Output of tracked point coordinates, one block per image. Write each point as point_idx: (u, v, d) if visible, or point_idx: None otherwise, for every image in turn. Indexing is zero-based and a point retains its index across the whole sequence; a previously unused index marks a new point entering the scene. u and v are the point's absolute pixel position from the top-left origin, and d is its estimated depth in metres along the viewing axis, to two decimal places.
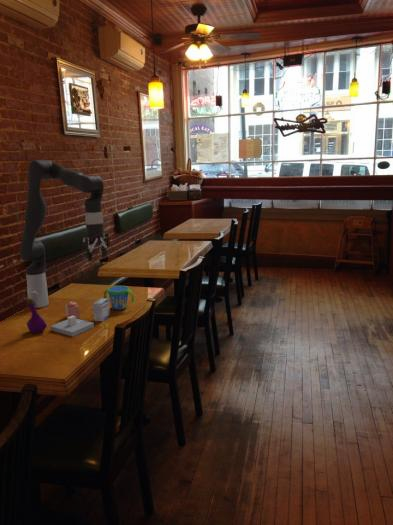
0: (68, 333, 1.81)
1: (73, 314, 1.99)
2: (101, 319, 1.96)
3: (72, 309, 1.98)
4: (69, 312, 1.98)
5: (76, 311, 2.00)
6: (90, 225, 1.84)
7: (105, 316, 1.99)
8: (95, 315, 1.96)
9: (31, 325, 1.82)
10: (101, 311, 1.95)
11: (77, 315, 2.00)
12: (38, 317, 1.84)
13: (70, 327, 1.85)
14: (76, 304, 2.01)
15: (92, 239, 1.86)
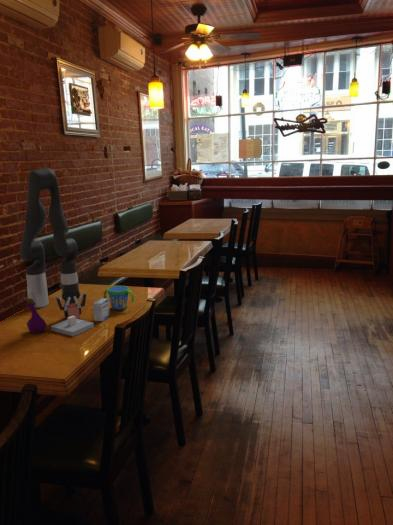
0: (68, 333, 1.81)
1: (73, 314, 1.99)
2: (101, 319, 1.96)
3: (72, 309, 1.98)
4: (69, 312, 1.98)
5: (76, 311, 2.00)
6: None
7: (105, 316, 1.99)
8: (95, 315, 1.96)
9: (31, 325, 1.82)
10: (101, 311, 1.95)
11: (77, 315, 2.00)
12: (38, 317, 1.84)
13: (70, 327, 1.85)
14: (76, 304, 2.01)
15: None
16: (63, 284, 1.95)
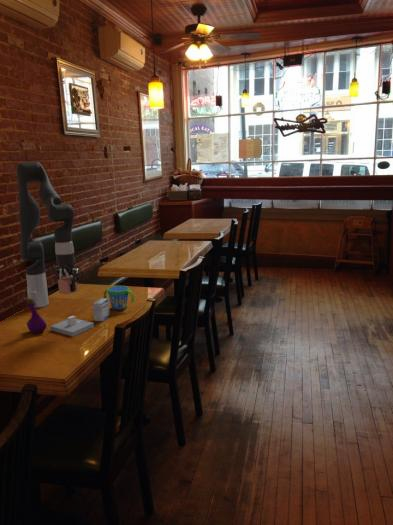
0: (68, 333, 1.81)
1: (62, 288, 1.82)
2: (101, 319, 1.96)
3: (61, 282, 1.81)
4: (59, 284, 1.82)
5: (64, 285, 1.81)
6: (72, 254, 1.80)
7: (105, 316, 1.99)
8: (95, 315, 1.96)
9: (31, 325, 1.82)
10: (101, 311, 1.95)
11: (65, 290, 1.81)
12: (38, 317, 1.84)
13: (70, 327, 1.85)
14: None
15: None
16: None
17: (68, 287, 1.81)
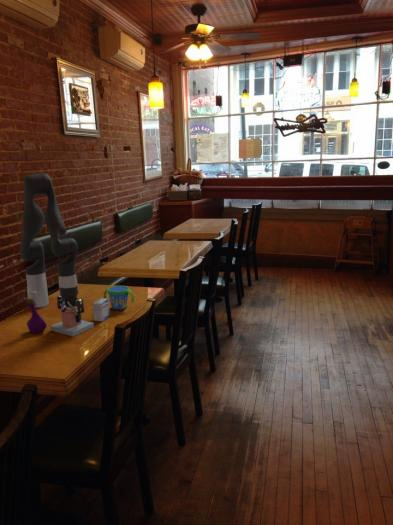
0: (68, 333, 1.81)
1: (65, 321, 1.85)
2: (101, 319, 1.96)
3: (64, 315, 1.85)
4: (62, 317, 1.86)
5: (67, 319, 1.84)
6: (76, 287, 1.83)
7: (105, 316, 1.99)
8: (95, 315, 1.96)
9: (31, 325, 1.82)
10: (101, 311, 1.95)
11: (68, 323, 1.84)
12: (38, 317, 1.84)
13: None
14: (71, 312, 1.85)
15: None
16: None
17: (71, 320, 1.84)
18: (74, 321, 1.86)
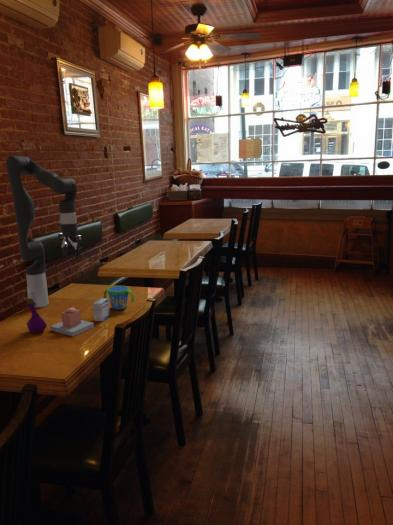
0: (68, 333, 1.81)
1: (65, 321, 1.85)
2: (101, 319, 1.96)
3: (64, 315, 1.85)
4: (62, 317, 1.86)
5: (67, 319, 1.84)
6: (75, 224, 1.99)
7: (105, 316, 1.99)
8: (95, 315, 1.96)
9: (31, 325, 1.82)
10: (101, 311, 1.95)
11: (68, 323, 1.84)
12: (38, 317, 1.84)
13: None
14: (71, 312, 1.85)
15: None
16: None
17: (71, 320, 1.84)
18: (74, 321, 1.86)
